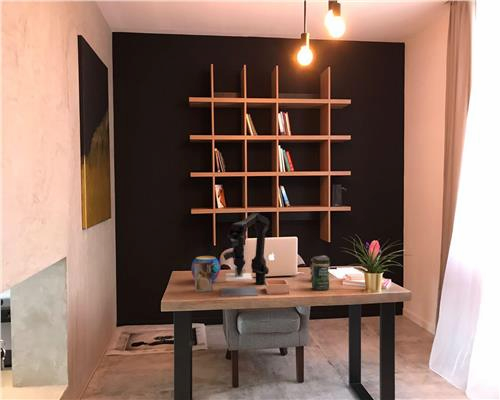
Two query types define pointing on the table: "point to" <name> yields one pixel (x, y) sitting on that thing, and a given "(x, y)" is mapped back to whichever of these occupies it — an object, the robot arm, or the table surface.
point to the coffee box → (203, 276)
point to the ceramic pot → (214, 265)
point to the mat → (239, 291)
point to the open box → (276, 287)
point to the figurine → (313, 269)
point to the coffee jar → (320, 273)
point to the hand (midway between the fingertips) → (238, 274)
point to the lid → (238, 276)
